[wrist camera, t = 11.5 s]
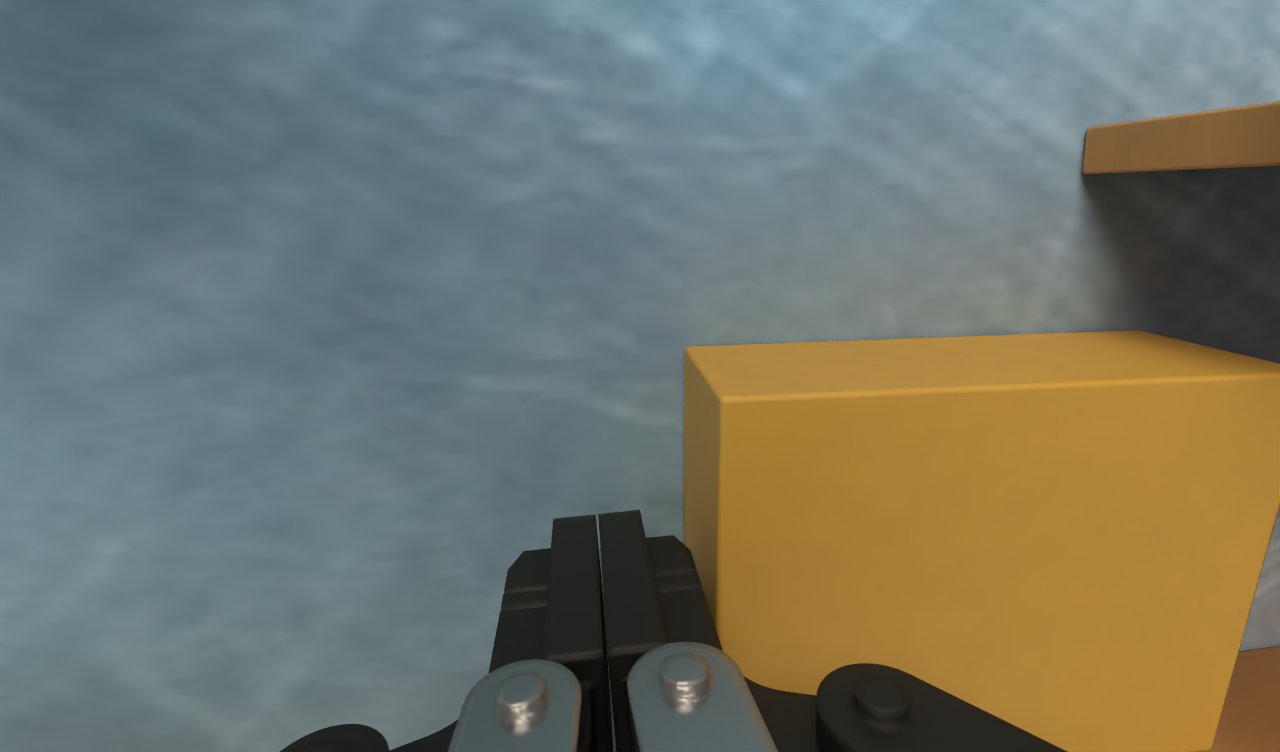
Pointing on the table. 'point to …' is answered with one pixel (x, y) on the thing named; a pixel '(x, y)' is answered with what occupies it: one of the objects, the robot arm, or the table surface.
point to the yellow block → (990, 520)
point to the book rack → (1225, 138)
